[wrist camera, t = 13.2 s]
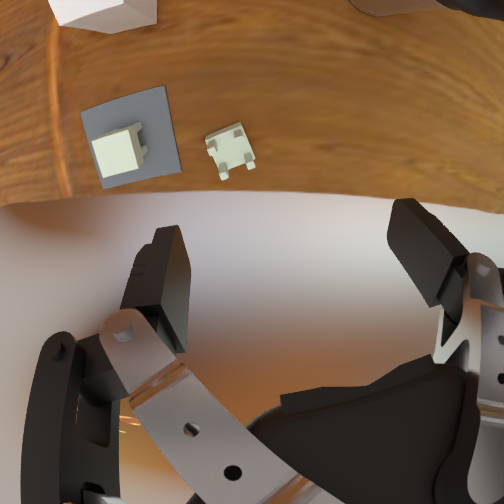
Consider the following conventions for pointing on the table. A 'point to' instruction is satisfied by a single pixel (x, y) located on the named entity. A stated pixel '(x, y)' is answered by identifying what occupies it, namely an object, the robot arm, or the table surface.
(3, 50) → the table surface
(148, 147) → the mat
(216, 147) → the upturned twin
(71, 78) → the table surface
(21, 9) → the table surface
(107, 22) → the milk carton
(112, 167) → the cube with twin tabs
